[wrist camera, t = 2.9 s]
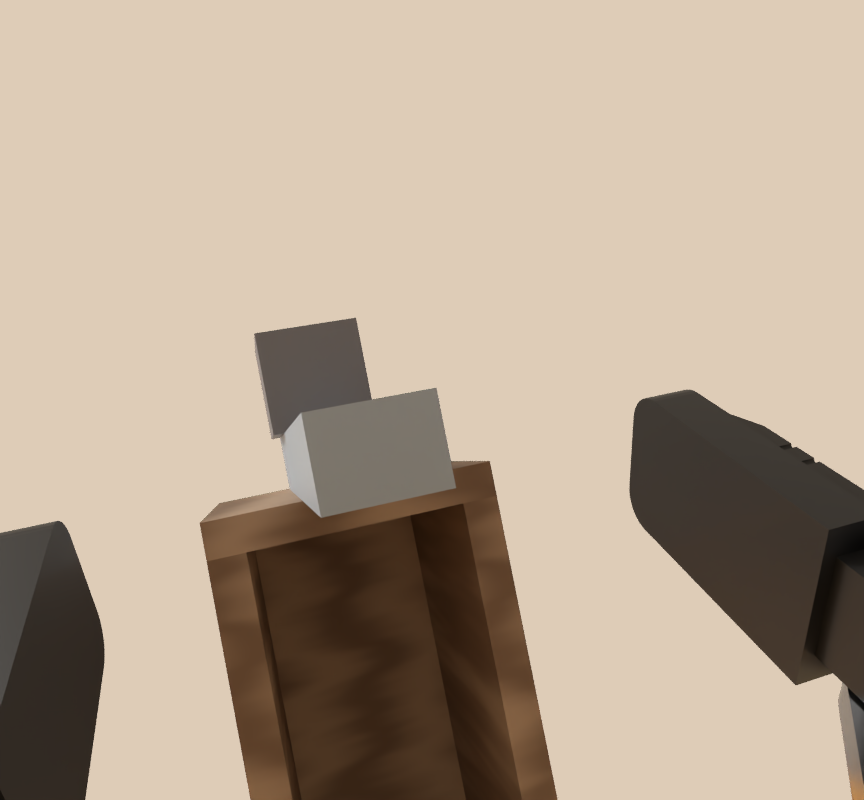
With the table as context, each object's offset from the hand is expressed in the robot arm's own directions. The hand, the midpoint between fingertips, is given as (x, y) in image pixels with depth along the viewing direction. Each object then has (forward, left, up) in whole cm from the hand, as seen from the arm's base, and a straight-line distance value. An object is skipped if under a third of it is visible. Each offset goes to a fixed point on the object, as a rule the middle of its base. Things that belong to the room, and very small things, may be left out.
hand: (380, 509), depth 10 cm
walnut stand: (+2, +27, -31) cm, 41 cm away
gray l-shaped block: (+2, +22, -1) cm, 22 cm away
